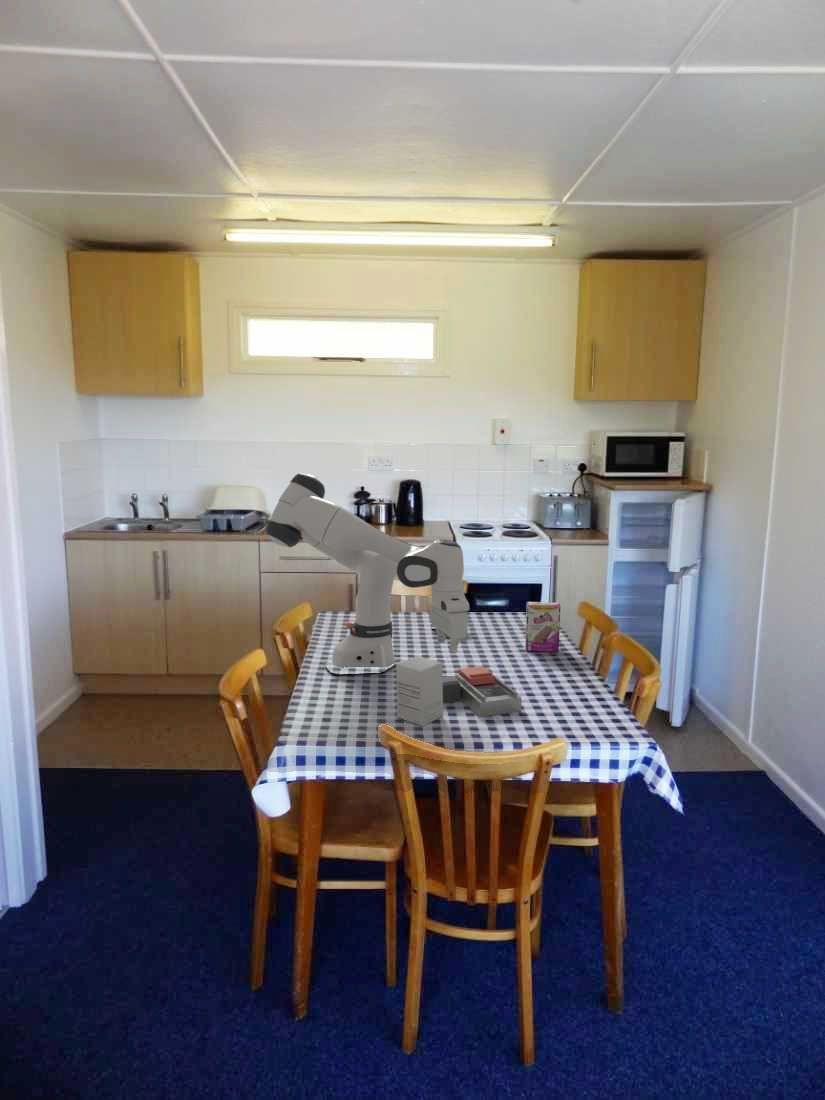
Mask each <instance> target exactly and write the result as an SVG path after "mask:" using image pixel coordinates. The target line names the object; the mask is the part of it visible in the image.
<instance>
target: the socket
mask: <svg viewBox="0 0 825 1100" xmlns="http://www.w3.org/2000/svg"><path fill="white" fill-rule="evenodd" d="M454 677H455V678H457V679H458V680H459V683H460V684H461V701H462V702H463V703H464V704H465V705H466V706H467V707H469V709H471V711H473V712H474V713H475V714H476V715H477V716H478V717H479V718H482V717H490V716H496V715H505V714H512V713H518V712H522V696H520V694H518V692H517V691H516V690H515V689H513V688H512V687H511V686H508V684H507V683H505V682H504V681H503V680H501V679H500V678H498V677H497V676H496V675H495V683H488V684H479V685H471V684H470V683H469V682H468V681H466V680H465V679H464V678H463V677H462V676H460V675H459V672H458V673H455V675H454Z"/></svg>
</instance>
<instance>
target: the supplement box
mask: <svg viewBox="0 0 825 1100" xmlns="http://www.w3.org/2000/svg"><path fill="white" fill-rule="evenodd" d="M395 667H396V717H398V718H401V719H404V720H407V721H406V722H408V721H410V722H409V723H411V722H412V724H414V723H415V725H417V724H418V726H420V727H424V726H426V725H428V724H429V723H431V722H434V721H436V720H438V719H439V718H442V717H443V716H444V703H443V677H444V675H443V669H444V668H443V662H442V661H436V660H433V659H428V658H425V657H422V656H415V657H413V658H410V659H408V660H404V661H403V662H400V663H396V665H395ZM398 718H397V719H398ZM401 719H400V720H401ZM404 720H403V721H404Z"/></svg>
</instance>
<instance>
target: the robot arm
mask: <svg viewBox="0 0 825 1100" xmlns="http://www.w3.org/2000/svg"><path fill="white" fill-rule="evenodd" d="M289 482H290V483H289V484H288V485H287V487H286V488H285V490H284V491H283V492H282V494H281V495H280V497H279V498H278V502H277V504H276V506H275V507H274V509H273V511H272V514H271V517H270V518H269V520H267V523H266V526H265V529H264V530H265V534H266V536H268V538H269V539H270V540H271V541H272V542H273V543H274V544H276V545H278V546H280V547H288V548H294V547H295V546H296V545H298V544H299V543H300V542H301V541H303V542H304V543H306V544H307V545H309V546H310V547H312V548H313V549H316V550H318V551H319V552H320V553H323V554H324V555H325V556H327V557H329V558H331V559H332V560H334V561H335V562H337V563H339V564H340V565H342V566H344V567H346V568H347V569H349V570H350V571H353V572H354V573H355V574H357V575H359V579H360V580H359V586H358V591H357V595H356V597H355V622H353V623H352V622H351V621H347V622H346V623H345V627H346V628H347V629H348V630H349V634H348V635H347V636H346V637H345V638H343V639H342V640H341V641H339V642H338V643H337V644H336V645H335V646H334V648H333V651H332V652H333V653H332V657H331V659H332V662H333V664H334V665H336V666H337V667H341V668H344V667H346V668H348V667H388V666H390V665H392V664H394V663H395V661H396V658H395V654H394V649H393V640H392V639H393V634H394V633H393V621H392V620H391V618H392V617H391V611H392V610H391V597H392V591H393V586H394V581H395V578H396V576H397V579H398V580H399V582H401V583H402V584H403V585H404V586H406V587H407V588H412V589H413V588H423V587H429V586H430V587H431V589H430V590H431V592H430V593H431V594H430V596H431V598H430V600H431V601H430V605H429V621H430V624H431V625H432V624H433V625H434V626H436V630H435V631H436V635H437V642H438V643H439V644H445V643H446V636H448V637H449V639H450V640H449V641H450V644H449V649H448V650H449V652H450V653H452V654H454V653H457V652H458V646H459V643H460V641H462V640H464V641H465V640H466V638H467V635H468V624H469V617H468V612H470V603H469V601H468V600H467V598H466V596H465V592H464V584H463V576H464V573H465V572H464V570H465V569H464V566H465V564H464V553H463V550H462V547H461V545H460V544H459V543H457V542H456V541H454V540H448V539H442V538H441V539H440V538H439V539H435V540H433V542H431V543H430V544H428V545H423V544H411V543H407V542H405V541H403V540H401V539H399V538H396V537H394V536H392V535H390V534H388V533H386V532H384V531H381V530H380V529H378V528H376V527H374V526H373V525H371V524H370V523H368V522H366V521H365V520H364V519H361V518H360V517H359V516H358V515H355V514H354V513H352V512H351V511H349V510H348V509H346V508H344V507H342V506H340V505H338V504H337V503H334V502H332V501H329V500H327V499H324V498H325V494H326V489H325V485H324V484H323V483H322V482H321V481H320V479H318V478H317V477H315V476H314V475H312V474H308V473H307V474H306V473H304V472H302V473H297V474H296V475H294V477H293V478H292V479H291V480H290V481H289Z"/></svg>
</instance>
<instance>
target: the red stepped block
mask: <svg viewBox="0 0 825 1100" xmlns="http://www.w3.org/2000/svg"><path fill="white" fill-rule="evenodd" d="M458 674H459V675H460V676H462V677H463V678H464V679H465V680H466V681H468V682H469V683H470V684H471V685H479V684H488V683H495V676H496V675H495V674H494V673H492V672H491V671H489V670H488V669H487V668H485V667H484V666H483V665H481V666H473V667H464V668H463V667H462V668H458Z"/></svg>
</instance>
